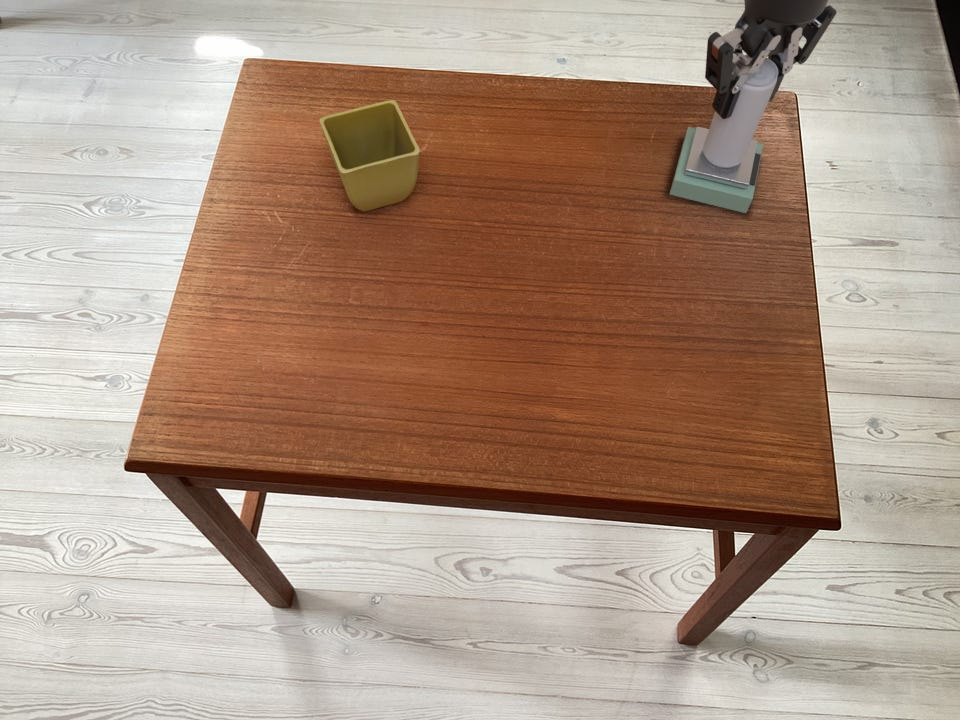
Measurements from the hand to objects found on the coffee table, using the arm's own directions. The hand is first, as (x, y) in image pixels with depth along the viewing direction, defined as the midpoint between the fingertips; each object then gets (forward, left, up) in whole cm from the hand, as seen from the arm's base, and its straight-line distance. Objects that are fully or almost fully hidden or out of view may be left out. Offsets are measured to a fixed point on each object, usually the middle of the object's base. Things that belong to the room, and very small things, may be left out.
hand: (742, 104), depth 82 cm
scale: (0, 0, -11) cm, 11 cm away
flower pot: (+37, +15, -11) cm, 41 cm away
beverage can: (0, 0, -8) cm, 8 cm away
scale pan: (0, 0, -8) cm, 8 cm away
